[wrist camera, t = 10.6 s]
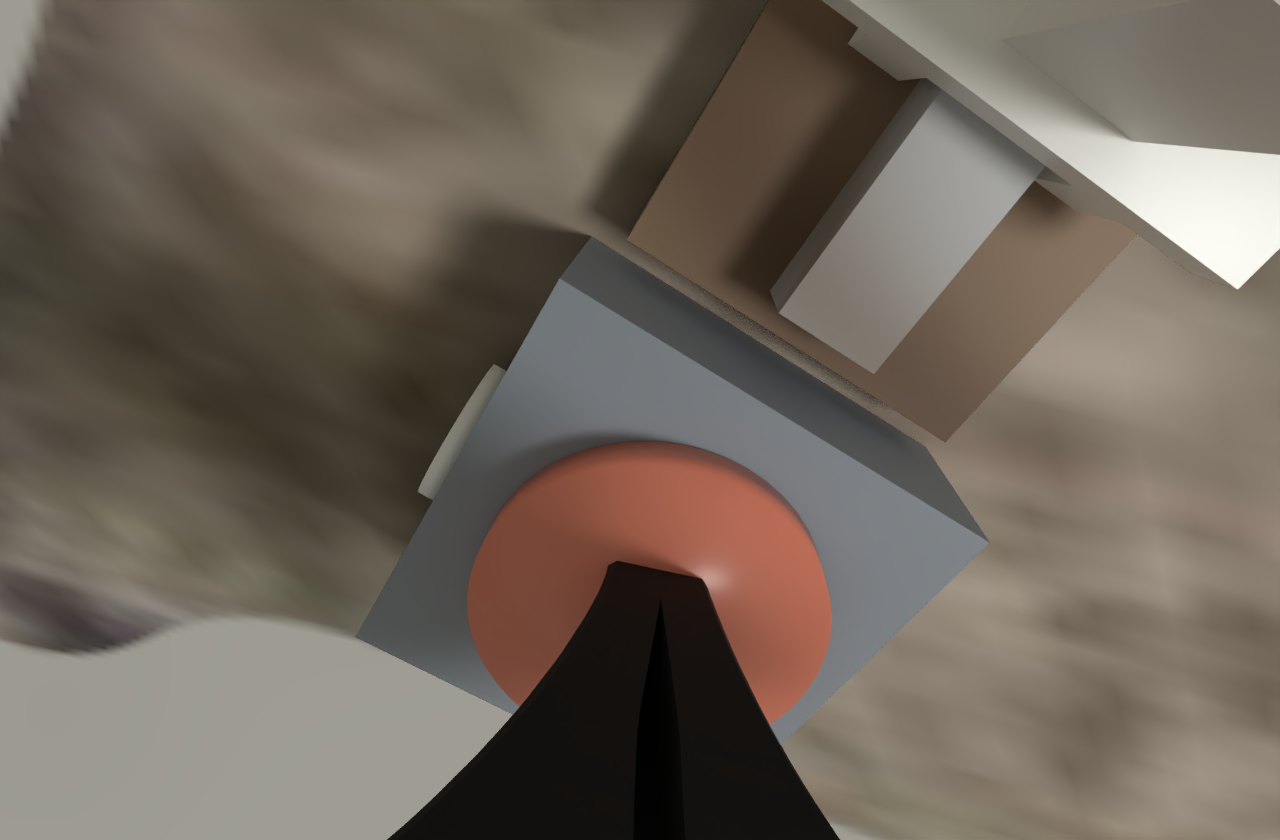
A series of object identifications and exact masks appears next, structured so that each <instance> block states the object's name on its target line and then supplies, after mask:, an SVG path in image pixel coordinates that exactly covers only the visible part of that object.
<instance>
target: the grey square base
mask: <svg viewBox="0 0 1280 840" xmlns="http://www.w3.org/2000/svg"><path fill="white" fill-rule="evenodd" d="M630 441H656V442H665V443H674V444H681V445H686V446H690V447H694V448H698V449H703V450H706V451H709V452H711V453H714V454H717V455H720V456H722V457H725V458H728V459H730V460H732V461H734V462H735V463H737V464H739V465H741V466H743V467H745V468H747V469H749V470H750V471H752V472H753V473H755V474H756V475H758V476H759V477H761V478H762V479H764V480H765V481H767V482H768V483H769V484H770V485H771V486H772V487H774V488H775V489H776V490H777V491H778V492H779V493H780V494H781V495H782V496H784V497H785V498H786V500H787V501H788V502H789V503H790V504H791V506H792V507H793V508H794V509H795V510H796V512H797V513H798V514H799V515H800V517H801V519H802V520H803V522H804V524H805V525H806V527H807V528H808V530H809V532H810V534H811V536H812V539H813V541H814V543H815V546H816V548H817V551H818V554H819V558H820V561H821V565H822V569H823V572H824V576H825V580H826V584H827V588H828V592H829V596H830V600H831V613H832V625H831V636H830V641H829V645H828V649H827V653H826V656H825V659H824V661H823V663H822V666H821V668H820V670H819V672H818V674H817V676H816V678H815V679H814V681H813V682H812V684H811V685H810V687H809V688H808V690H807V691H806V692H805V693H804V695H803V696H802V697H801V698H800V699H799V700H798V701H797V703H796V704H795V705H794V706H793V707H792V708H790V709H789V710H788V711H787V712H786V713H785V714H784V715H782V716H781V717H780V718H779V719H777V720H776V721H774V722H773V723H771V724H770V727H771V729H772V730H773V732H774V734H775V736H776V737H777V739H778V741H779V743H780V745H782V744H783V743H784V742H785V741H786V740H787V739H788V738H789V737H790V736H791V735H792V734H793V733H794V732H795V731H796V730H797V729H798V728H799V727H800V726H801V725H802V724H803V723H804V722H806V721H807V720H808V719H809V718H810V717H811V716H812V715H813V714H814V713H815V712H816V711H817V710H818V709H819V708H820V707H821V706H822V705H823V704H824V703H825V702H826V701H827V700H828V699H829V698H830V697H831V696H832V695H833V694H834V693H835V692H836V691H837V690H838V689H839V688H841V687H842V686H843V685H844V684H845V683H846V682H847V681H848V680H849V679H850V678H851V677H852V676H853V675H854V674H855V673H856V672H857V671H858V670H859V669H860V668H861V667H862V666H863V665H864V664H865V663H866V662H867V661H868V660H869V659H870V658H871V657H872V656H873V655H874V654H876V653H877V652H878V651H879V650H880V649H881V648H882V647H883V646H884V645H885V644H886V643H887V642H888V641H889V640H890V639H891V638H892V637H893V636H894V635H895V634H896V633H897V632H898V631H899V630H900V629H901V628H902V627H903V626H904V625H905V624H906V623H907V622H908V621H909V620H911V619H912V618H913V617H914V616H915V615H916V614H917V613H918V612H919V611H920V610H921V609H922V608H923V607H924V606H925V605H926V604H927V603H928V602H929V601H930V600H931V599H932V598H933V597H934V596H935V595H936V594H937V593H938V592H939V591H940V590H941V589H942V588H943V587H944V586H946V585H947V584H948V583H949V582H950V581H951V580H952V579H953V578H954V577H955V576H956V575H957V574H958V573H959V572H960V571H961V570H962V569H963V568H964V567H965V566H966V565H967V564H968V563H969V562H970V561H971V560H972V559H973V558H974V557H975V556H976V555H977V554H978V553H979V552H981V551H982V550H983V549H984V548H985V547H986V546H987V545H988V544H989V543H990V542H989V541H988V539H987V538H986V536H985V535H984V533H983V532H982V530H981V529H980V527H979V526H978V524H977V523H976V521H975V520H974V518H973V517H972V515H971V514H970V512H969V511H968V509H967V508H966V506H965V505H964V503H963V502H962V500H961V499H960V497H959V496H958V494H957V493H956V491H955V490H954V488H953V487H952V486H951V484H950V483H949V481H948V480H947V478H946V477H945V475H944V474H943V472H942V471H941V469H940V468H939V466H938V465H937V463H936V462H935V460H934V459H933V457H932V456H931V454H930V453H929V451H928V450H927V448H926V447H924V446H923V445H921V444H920V443H918V442H917V441H915V440H913V439H912V438H910V437H909V436H907V435H905V434H904V433H902V432H901V431H899V430H897V429H896V428H894V427H893V426H891V425H890V424H888V423H886V422H885V421H883V420H882V419H880V418H878V417H877V416H875V415H874V414H872V413H871V412H869V411H867V410H866V409H864V408H863V407H861V406H859V405H858V404H856V403H855V402H853V401H851V400H850V399H848V398H847V397H845V396H844V395H842V394H840V393H839V392H837V391H836V390H834V389H832V388H831V387H829V386H828V385H826V384H825V383H823V382H821V381H820V380H818V379H817V378H815V377H813V376H812V375H810V374H809V373H807V372H805V371H804V370H802V369H801V368H799V367H798V366H796V365H794V364H793V363H791V362H790V361H788V360H786V359H785V358H783V357H782V356H780V355H779V354H777V353H775V352H774V351H772V350H771V349H769V348H767V347H766V346H764V345H763V344H761V343H759V342H758V341H756V340H755V339H753V338H752V337H750V336H748V335H747V334H745V333H744V332H742V331H740V330H739V329H737V328H736V327H734V326H733V325H731V324H729V323H728V322H726V321H725V320H723V319H721V318H720V317H718V316H717V315H715V314H713V313H712V312H710V311H709V310H707V309H706V308H704V307H702V306H701V305H699V304H698V303H696V302H694V301H693V300H691V299H690V298H688V297H687V296H685V295H683V294H682V293H680V292H679V291H677V290H675V289H674V288H672V287H671V286H669V285H667V284H666V283H664V282H663V281H661V280H660V279H658V278H656V277H655V276H653V275H652V274H650V273H648V272H647V271H645V270H644V269H642V268H641V267H639V266H637V265H636V264H634V263H633V262H631V261H629V260H628V259H626V258H625V257H623V256H621V255H620V254H618V253H617V252H615V251H614V250H612V249H610V248H609V247H607V246H606V245H604V244H602V243H601V242H599V241H598V240H596V239H595V238H593V237H591V238H590V239H589V240H588V242H587V243H586V244H585V246H584V247H583V248H582V250H581V251H580V252H579V253H578V255H577V256H576V257H575V259H574V260H573V261H572V263H571V264H570V265H569V267H568V268H567V269H566V271H565V272H564V273H563V274H562V276H561V277H560V278H559V280H558V282H557V284H556V285H555V287H554V289H553V291H552V292H551V294H550V296H549V298H548V300H547V301H546V303H545V305H544V307H543V308H542V310H541V312H540V314H539V315H538V317H537V319H536V321H535V322H534V324H533V326H532V328H531V329H530V331H529V333H528V335H527V336H526V338H525V340H524V342H523V343H522V345H521V347H520V349H519V350H518V352H517V354H516V356H515V358H514V359H513V361H512V363H511V365H510V366H509V368H508V370H507V371H505V370H504V369H502V368H500V367H499V366H497V365H495V364H494V365H493V366H492V367H491V368H490V369H489V371H488V372H487V373H486V375H485V376H484V378H483V379H482V381H481V382H480V384H479V385H478V387H477V388H476V390H475V391H474V393H473V394H472V396H471V397H470V399H469V401H468V402H467V404H466V405H465V407H464V409H463V410H462V412H461V413H460V415H459V417H458V418H457V420H456V422H455V423H454V425H453V427H452V428H451V430H450V432H449V433H448V435H447V437H446V439H445V440H444V442H443V444H442V445H441V447H440V449H439V451H438V452H437V454H436V456H435V458H434V460H433V461H432V463H431V465H430V467H429V469H428V471H427V472H426V474H425V476H424V478H423V480H422V482H421V484H420V487H419V489H418V492H419V493H420V494H422V495H424V496H426V497H428V498H430V499H432V500H433V502H432V503H431V505H430V507H429V509H428V510H427V512H426V514H425V516H424V517H423V519H422V521H421V523H420V524H419V526H418V528H417V530H416V531H415V533H414V535H413V537H412V539H411V540H410V542H409V544H408V546H407V547H406V549H405V551H404V553H403V554H402V556H401V558H400V560H399V561H398V563H397V565H396V567H395V568H394V570H393V572H392V574H391V575H390V577H389V579H388V581H387V582H386V584H385V586H384V588H383V589H382V591H381V593H380V595H379V597H378V598H377V600H376V602H375V604H374V605H373V607H372V609H371V611H370V612H369V614H368V616H367V618H366V619H365V621H364V623H363V625H362V626H361V628H360V630H359V632H358V633H357V635H356V638H358V639H360V640H362V641H364V642H366V643H369V644H371V645H373V646H375V647H377V648H379V649H381V650H383V651H385V652H387V653H389V654H391V655H393V656H395V657H397V658H399V659H401V660H403V661H405V662H407V663H409V664H411V665H413V666H415V667H418V668H419V669H421V670H423V671H426V672H428V673H429V674H432V675H434V676H436V677H438V678H440V679H442V680H444V681H446V682H448V683H450V684H452V685H454V686H456V687H458V688H460V689H462V690H464V691H466V692H468V693H470V694H472V695H474V696H476V697H478V698H481V699H482V700H485V701H486V702H488V703H490V704H493V705H495V706H497V707H499V708H501V709H503V710H505V711H507V712H509V713H511V714H514V713H515V712H516V711H517V709H518V708H519V707H520V706H518V705H517V704H516V703H515V702H514V701H513V700H512V699H511V698H509V696H508V695H507V694H506V693H505V692H504V691H503V690H502V689H501V687H500V686H499V685H498V684H497V683H496V682H495V680H494V679H493V677H492V676H491V674H490V673H489V671H488V670H487V669H486V667H485V665H484V663H483V661H482V659H481V657H480V655H479V653H478V651H477V649H476V646H475V643H474V640H473V637H472V634H471V631H470V625H469V619H468V614H467V593H468V586H469V580H470V575H471V572H472V569H473V566H474V563H475V559H476V557H477V555H478V553H479V551H480V548H481V546H482V544H483V542H484V540H485V538H486V536H487V534H488V532H489V530H490V528H491V526H492V524H493V522H494V520H495V518H496V516H497V514H498V512H499V511H500V510H501V508H502V507H503V506H504V504H505V503H506V502H507V500H508V499H509V498H510V496H511V495H512V494H513V493H514V492H515V491H516V490H517V489H518V488H519V487H520V486H521V485H522V484H523V483H524V482H526V481H527V480H528V479H530V478H531V477H532V476H534V475H535V474H536V473H538V472H539V471H540V470H542V469H544V468H545V467H547V466H549V465H551V464H553V463H554V462H556V461H558V460H560V459H562V458H564V457H567V456H570V455H572V454H575V453H577V452H580V451H582V450H586V449H590V448H594V447H598V446H602V445H606V444H614V443H622V442H630Z"/></svg>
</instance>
